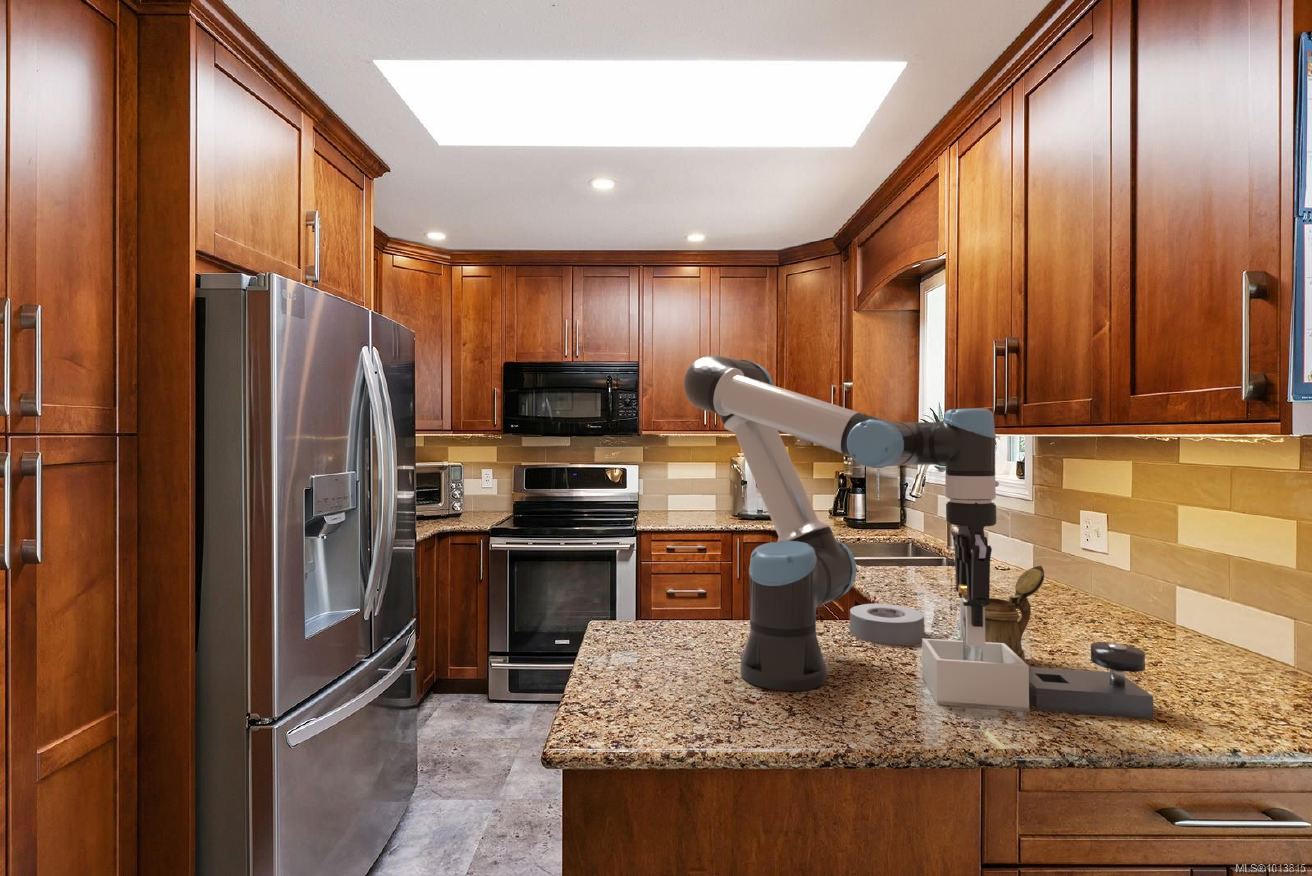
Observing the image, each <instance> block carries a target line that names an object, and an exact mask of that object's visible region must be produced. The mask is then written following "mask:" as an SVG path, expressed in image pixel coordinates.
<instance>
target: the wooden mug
mask: <svg viewBox="0 0 1312 876" xmlns="http://www.w3.org/2000/svg"><path fill="white" fill-rule="evenodd" d="M1044 580H1045V571H1044V567H1043V566H1042V565H1037V566H1033V567H1031V568H1029V569H1027V570H1025V571H1023V572H1022V573H1021V574H1020V575H1019V577H1018V579H1017V581H1016V582H1015V583H1016V584H1015V594H1014V595H1013V596H1009V598H1008V600H1006V599H1002V598H997V597H995V598H994V597H990V598H989V601H990V603H989V606H988V605H986V606H985V642H992V643H1005V644H1006V645H1007V646H1008V647H1009V648H1010V649H1011V650H1012V651H1013V652H1014V653H1015V654H1016V655H1017V656H1019V657H1020V658H1021V659H1022V660H1023V661H1024V662H1025V663H1026V664H1027V662H1026V658H1025V656H1026V655H1025V651H1024V650H1023V648H1022V637H1023V634H1024V633H1025V630H1026V628H1027V627H1028V624H1029V621H1030V619H1031V613H1032V612H1031V604H1030V601H1029V599H1028V597H1030V596H1031V595H1034V594H1035V593H1037V591H1038V590H1039V589H1040V587H1041V586H1043V582H1044ZM1017 610H1019V611H1020V615H1021V616H1020V615H1019V612H1018V611H1017Z"/></svg>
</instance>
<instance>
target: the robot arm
mask: <svg viewBox="0 0 1312 876" xmlns="http://www.w3.org/2000/svg"><path fill="white" fill-rule="evenodd" d="M683 388H684V392H685V396H686V397H687V399H688V401H689V402H690V403H691V404H692V405H693V406H694V407H696V408H697V409H700V410H701V411H706V412H710V413H713V414H717V415H719V418H720V421H721V422H722V424H723V427H724V429H725V430H727V431H730V432H732V433H734V435H735V438H736V440H737V442H738V445H739V446H740V449H741V451H742V454H743V456H744V458H745V461H746V464H747V466H748V468H749V470H750V473H751V475H752V477H753V480H754V481H755V484H756V487H757V489H758V491H759V494H760V496H761V498H762V501H763V502H764V505H765V507H766V510H767V512H768V516H769V517H770V520H771V522H772V524H773V527H774V529H775V531H776V534H777V536H778V537H777V541H776V542H773V541H771V542H767V543H763V544H760V545H759V546H756V547H755V548H754V549H753V550H752V551H751V554H750V559H749V561H750V562H749V563H750V564H749V568H748V575H749V616H750V617H749V622H750V624H749V627H750V629H749V634H748V636H747V641H746V644H745V647H744V650H743V653H742V656H741V659H740V676H741V677H742V679H743V680H745V681H746V682H748V683H749V684H752V685H754V686H756V687H760V688H763V689H768V690H772V691H773V690H774V691H781V692H801V691H809V690H813V689H816V688H819V687H821V686H822V685H824V684H825V683H826V681H827V665H826V662H825V659H824V655H823V653H822V650H821V646H820V644H819V641H818V637H817V631H816V630H817V629H816V628H817V625H816V622H817V615H816V612H817V611H816V609H817V608H819V607H820V606H823V605H826V604H828V603H831V602H834V601H837V600H838V599H841V597H842V596H844V595H846V593H848V592H849V591H850V590H851V588H852V587H853V585H854V583H855V580H856V577H857V563H856V559H855V557H854V554H853V553H852V551H851V550H850V548H848V546H847V545H846V544H845V543H842V542H840V541H839V540H837V539H836V538H835V535H834V533H833V531H832V529H831V526H830V525H829V524H826V523H824V522H823V521H820V520H819V519H818V516H817V514H816V512H815V510H814V507H813V505H812V504H811V503H812V502H811V501H810V498H809V496H808V495H807V491H806V490H805V488H804V485H803V483H802V481H801V479H800V476H799V474H798V472H797V470H796V468H795V465H794V463H793V462H792V458H791V457H790V455H789V451H788V449H787V447H786V445H785V444H784V442H783V439H782V437H781V434H780V433H779V431H780V432H782V433H785V434H788V435H790V436H793V437H796V438H798V439H802V440H804V441H808V442H810V443H813V444H816V445H818V446H821V447H823V448H826V449H829V450H832V451H835V452H837V453H840V454H843V455H845V456H848V457H850V458H852V459H853V461H855V462H856V463H857V464H859V465H861V466H863V467H869V468H874V469H883V468H885V467H894V466H911V465H912V466H913V465H914V466H917V465H918V466H919V465H920V466H922V465H923V466H930V465H931V466H934V465H936V466H945V475H944V476H945V479H944V480H945V481H944V482H945V484H944V485H945V498H947V499H948V500H949V501H947V503H945V516H946V517H945V520H946V523H947V524H950V525H953V526H958V529H957V531H958V532H957V534H954V535H953V536H952V540H953V547H954V566H955V568H954V569H955V591H956V592H957V594H958V597H959V634H960V635H959V636H960V639H961V640H963V636H962V594H960V593H959V586H958V585H959V584H967V596H968V601H967V602H963V605H964V606H966V644H967V645H971V646H985V606H986V605H988V606H989V603H990V601H989V598H991V597H990V594H991V593H990V590H991V589H990V588H991V587H990V586H991V585H990V583H991V577H990V576H991V556H992V551H993V550H992V549H993V548H992V546H991V545H988V538H987V536H985V530H984V528H985V527H992V526H993V527H994V526H995V525H996V524H997V505H996V504H995V502H992V501H993V500H995V499H996V496H997V495H996V488H998V487H999V485H1000V483H999V481H997V480H996V439H997V435H996V430H995V429H996V428H995V419H994V418H995V417H994V413H993V411H992V410H989V409H988V408H956V409H954V408H953V409H948V410H946V411H945V414H944V418H943V420H942V421H940V420H939V421H932V422H929V421H926V422H921V421H919V422H917V421H915V422H913V421H911V422H906V421H905V422H904V421H890V420H885V419H883V418H882V419H881V418H879V417H875V416H872V415H869V414H865V413H862V412H860V411H855V410H854V409H853V410H852V409H849V408H846V407H843V406H839V405H837V404H833V403H830V402H827V401H823V400H821V399H817V398H814V397H811V396H809V395H805V394H801V393H799V392H796V391H793V390H788V389H787V388H783V387H780V386H776V385H774V382H773V379H772V377H771V375H770V373H769V372H768V371H767V370H766V369H765V368H764V367H763V366H761V364H758V363H756V362H753V361H750V360H747V359H734V358H731V357H725V356H722V355H713V354H712V355H706V356H702V357H701V358H698V359H697V360H695V361H694V362H692V363H691V365H690V366H689V367H688V369H687V370H686V373H685V375H684V379H683Z"/></svg>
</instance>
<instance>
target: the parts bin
mask: <svg viewBox="0 0 1312 876" xmlns="http://www.w3.org/2000/svg"><path fill="white" fill-rule="evenodd" d="M1029 667H1030V666H1029V665H1028V664H1027V662H1026V663H1025V662H1024V661H1023V660H1022V659H1021V658H1020V657H1019V656H1017V655H1016V654H1015V653H1014V652H1013V651H1012V650H1011V649H1010V648H1009V647H1008V646H1007V645H1006V644H1005V643H992V642H985V646H983V662H982V661H966V660H963V640H954V639H938V638H937V639H936V638H924V639H923V638H922V642H921V669H922V670H921V672H922V673H921V674H922V675H921V676H922V681H923V683H924V685H926V687H927V689H928V691H929V692H930V694H931V696H932V698H933V700H934V702H935V704H936V705H941V706H953V707H954V706H955V707H963V708H964V707H965V708H966V707H967V708H979V709H992V710H1004V711H1007V710H1008V711H1016V712H1030V703H1029Z"/></svg>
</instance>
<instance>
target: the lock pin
mask: <svg viewBox="0 0 1312 876" xmlns="http://www.w3.org/2000/svg"><path fill="white" fill-rule="evenodd" d="M958 586H959V592H958V594H959V593H960V594H962V598H961V599H962V636H963V639H962V641H963V660H966V661H982V662H983V646H971V645H967V644H966V606H964V605H963V602H967V601H968V596H967V584H959V585H958Z"/></svg>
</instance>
